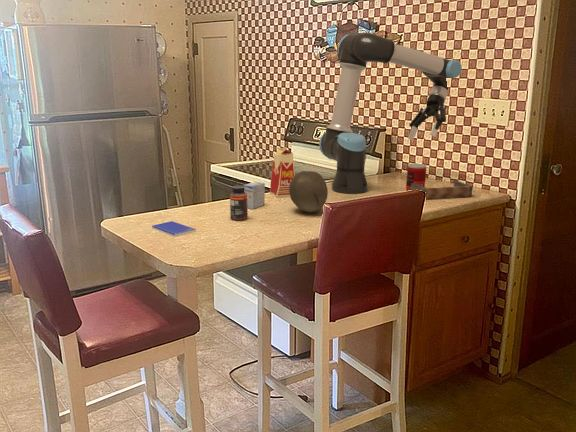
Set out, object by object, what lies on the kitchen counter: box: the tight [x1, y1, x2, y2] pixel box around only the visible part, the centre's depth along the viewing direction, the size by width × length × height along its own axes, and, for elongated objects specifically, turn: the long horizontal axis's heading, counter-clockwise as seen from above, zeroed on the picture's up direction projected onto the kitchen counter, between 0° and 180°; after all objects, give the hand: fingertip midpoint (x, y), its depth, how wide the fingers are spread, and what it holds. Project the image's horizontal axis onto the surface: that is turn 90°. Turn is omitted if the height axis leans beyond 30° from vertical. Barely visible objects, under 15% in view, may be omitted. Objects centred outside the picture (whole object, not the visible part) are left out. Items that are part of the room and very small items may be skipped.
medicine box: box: [243, 181, 266, 210], centre depth 212 cm, size 8×4×9 cm, turn 149°
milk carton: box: [269, 146, 296, 198], centre depth 230 cm, size 9×9×20 cm
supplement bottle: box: [229, 185, 249, 222], centre depth 196 cm, size 6×6×11 cm
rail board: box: [411, 180, 473, 201], centre depth 235 cm, size 22×11×4 cm, turn 107°
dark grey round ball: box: [289, 170, 329, 214], centre depth 205 cm, size 14×14×15 cm
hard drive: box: [151, 221, 197, 238], centre depth 183 cm, size 2×8×12 cm
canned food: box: [405, 163, 427, 192], centre depth 242 cm, size 8×8×11 cm
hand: (421, 137), depth 255 cm, fingers open, 13 cm apart
